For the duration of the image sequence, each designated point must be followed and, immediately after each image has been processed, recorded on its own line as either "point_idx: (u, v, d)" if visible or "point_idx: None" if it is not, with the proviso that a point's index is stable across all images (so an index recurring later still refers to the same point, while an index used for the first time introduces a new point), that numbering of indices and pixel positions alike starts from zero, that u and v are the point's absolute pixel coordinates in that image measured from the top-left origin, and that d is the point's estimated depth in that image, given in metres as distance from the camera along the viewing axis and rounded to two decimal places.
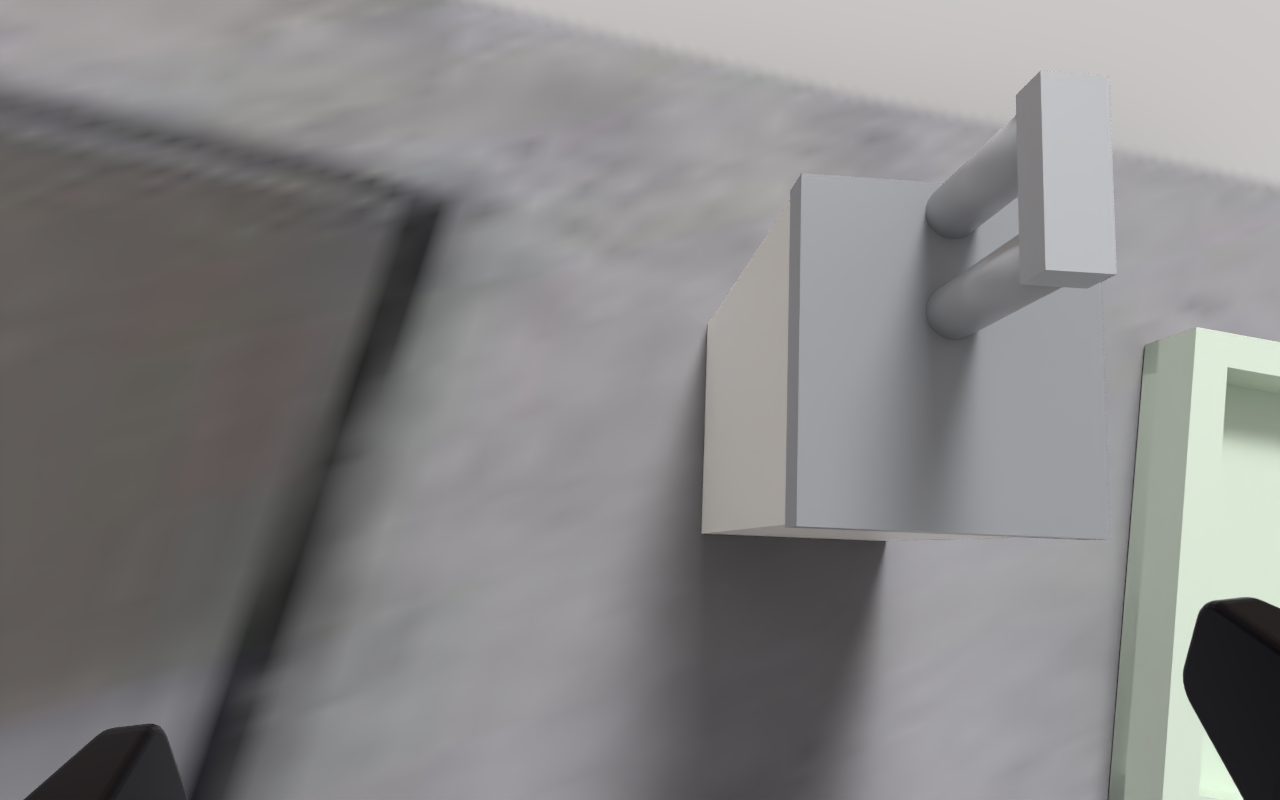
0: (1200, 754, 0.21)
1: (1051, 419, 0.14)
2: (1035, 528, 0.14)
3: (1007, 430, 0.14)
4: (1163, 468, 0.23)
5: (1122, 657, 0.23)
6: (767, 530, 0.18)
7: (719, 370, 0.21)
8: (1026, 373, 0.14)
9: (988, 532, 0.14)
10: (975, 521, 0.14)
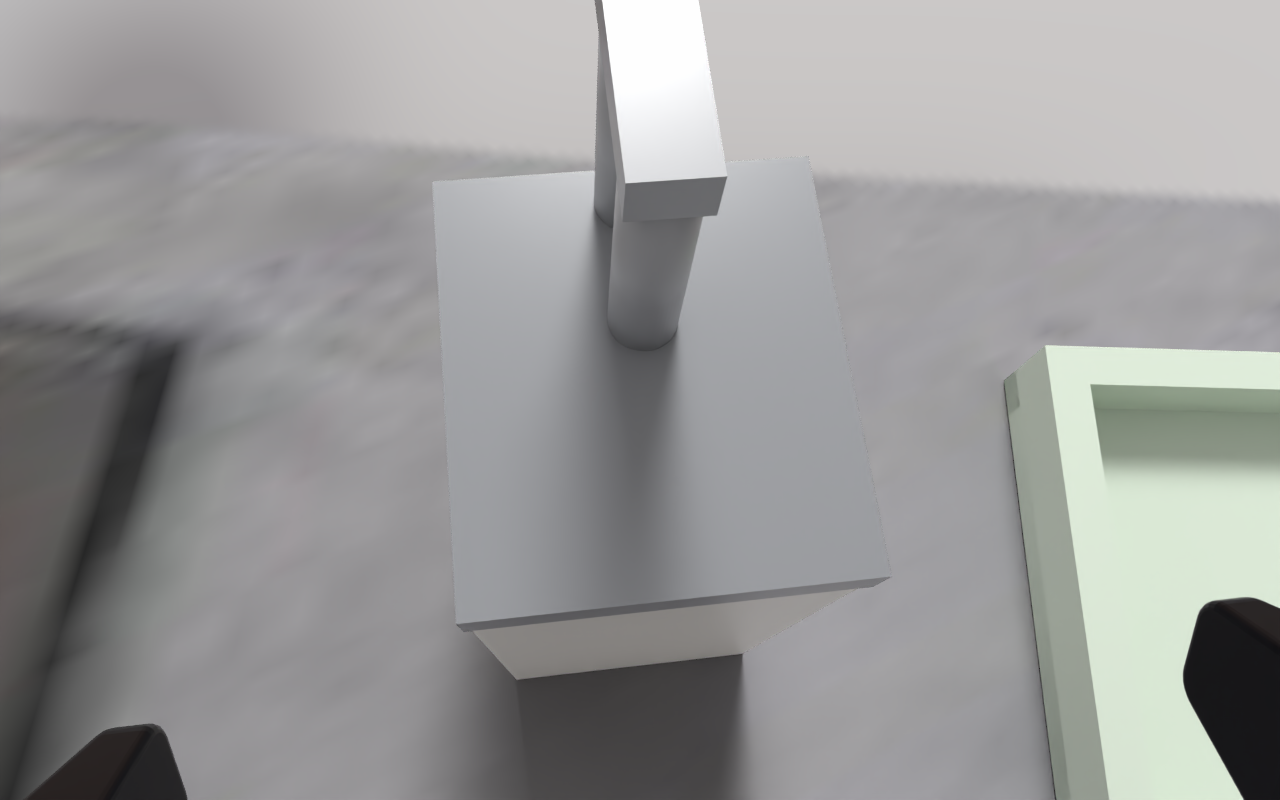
0: None
1: (788, 432, 0.11)
2: (788, 577, 0.10)
3: (732, 454, 0.11)
4: (1046, 514, 0.19)
5: (1053, 753, 0.19)
6: (532, 653, 0.14)
7: None
8: (747, 379, 0.11)
9: (723, 592, 0.10)
10: (703, 580, 0.10)
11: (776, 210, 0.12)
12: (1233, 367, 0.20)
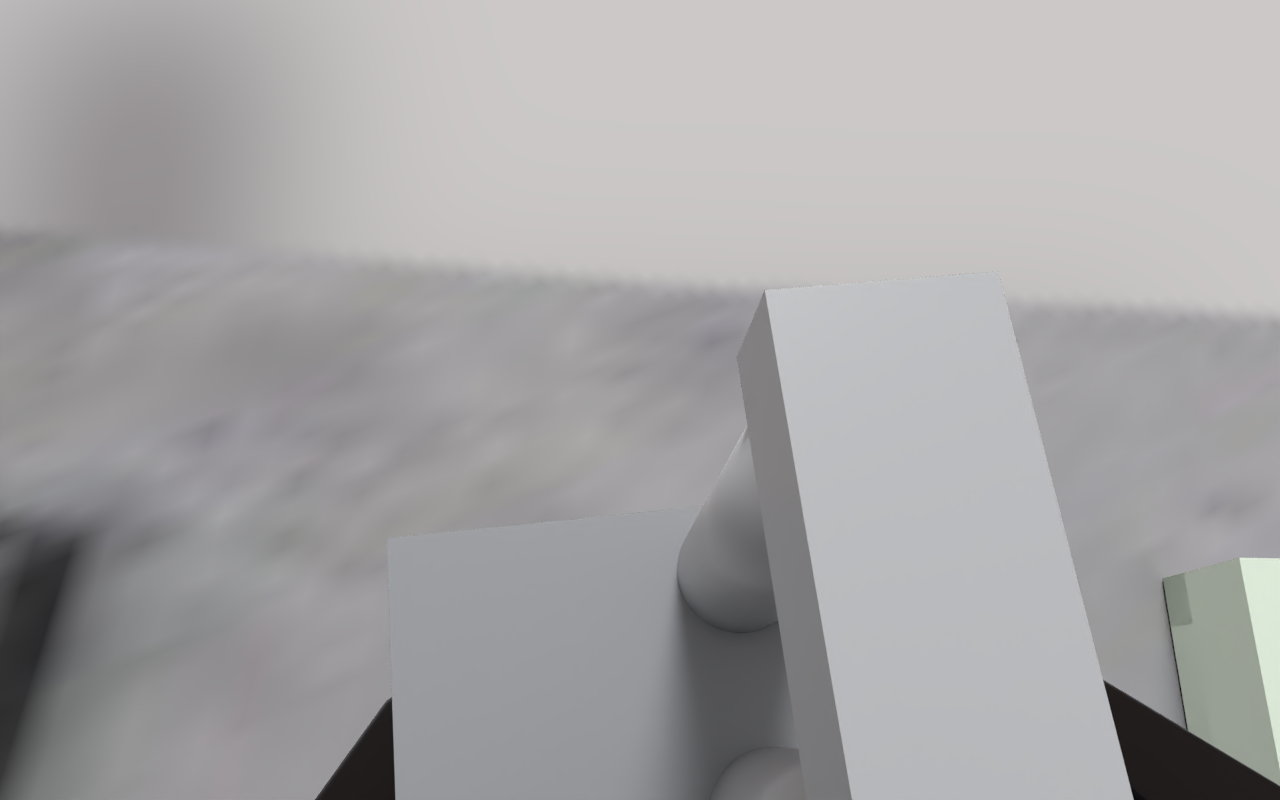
0: None
1: None
2: None
3: None
4: None
5: None
6: None
7: None
8: None
9: None
10: None
11: None
12: None
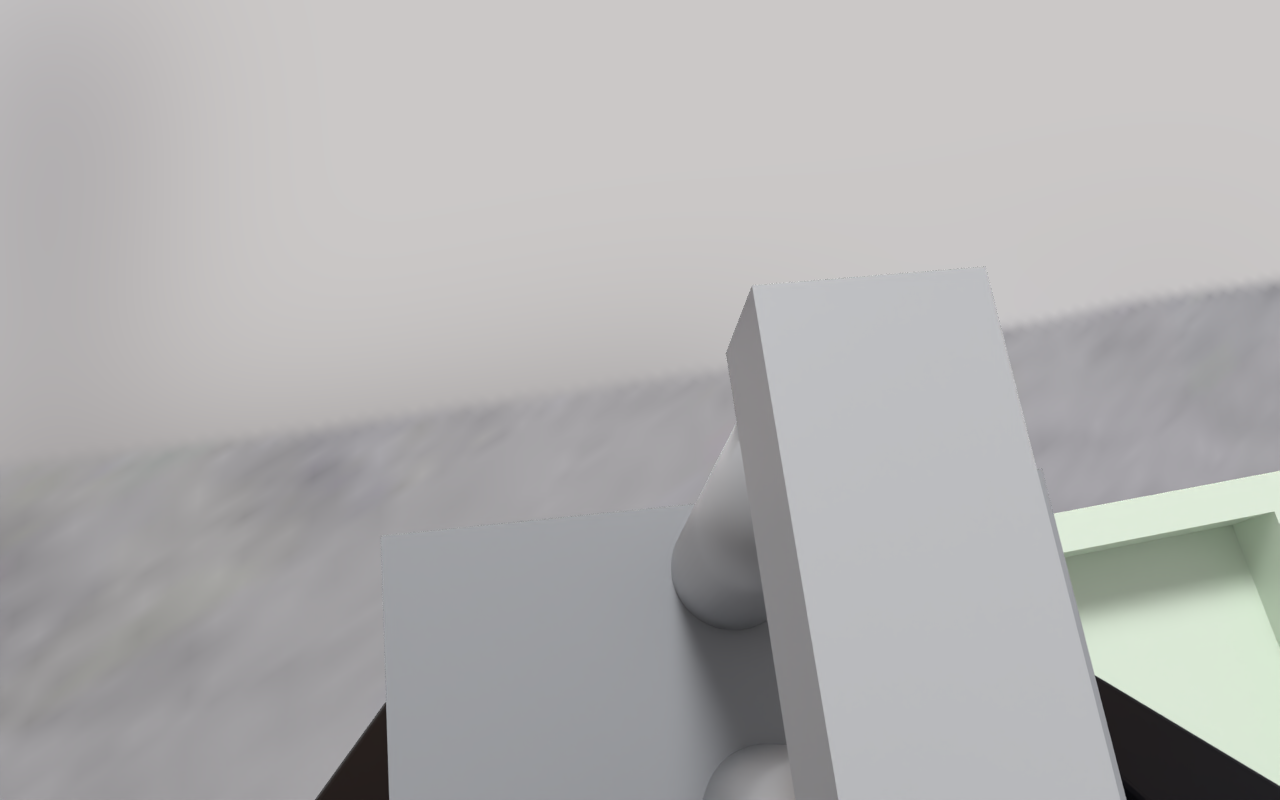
0: None
1: None
2: None
3: None
4: None
5: None
6: None
7: None
8: None
9: None
10: None
11: None
12: None
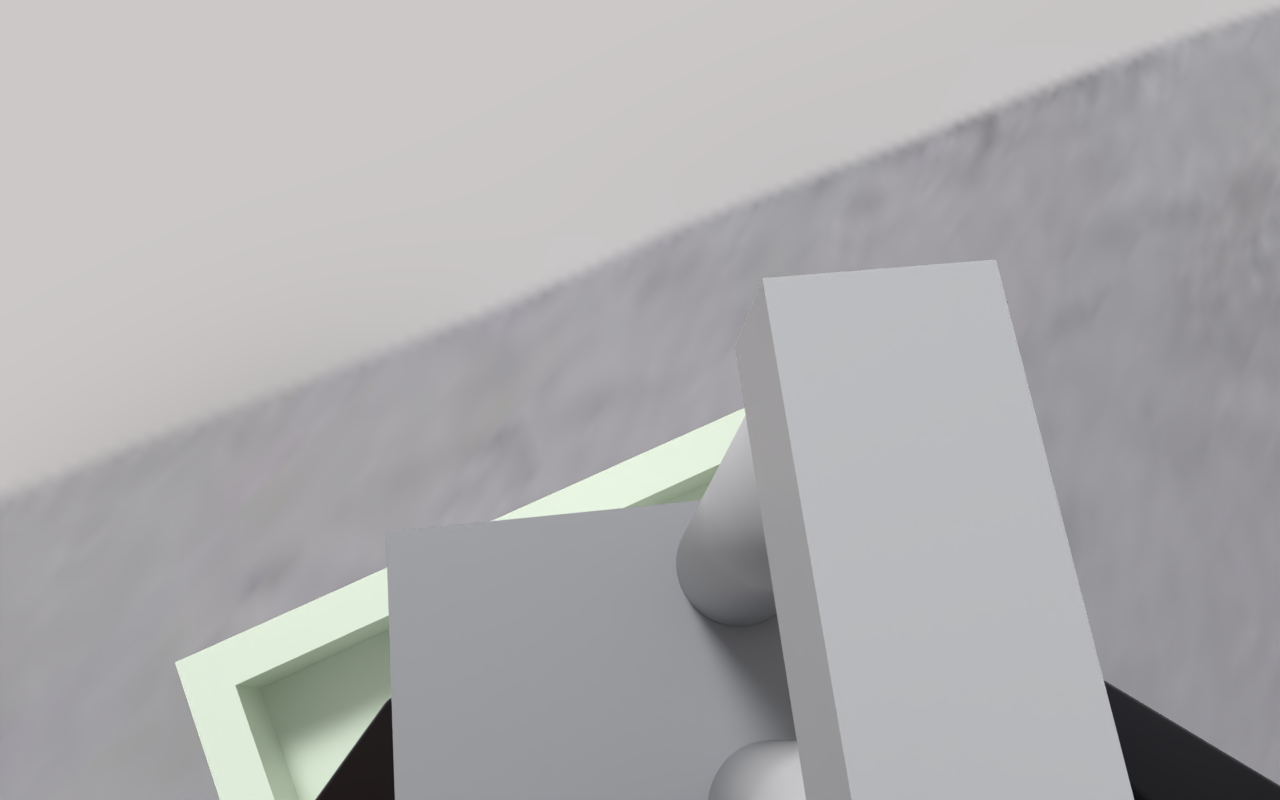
0: None
1: None
2: None
3: None
4: None
5: None
6: None
7: None
8: None
9: None
10: None
11: None
12: None
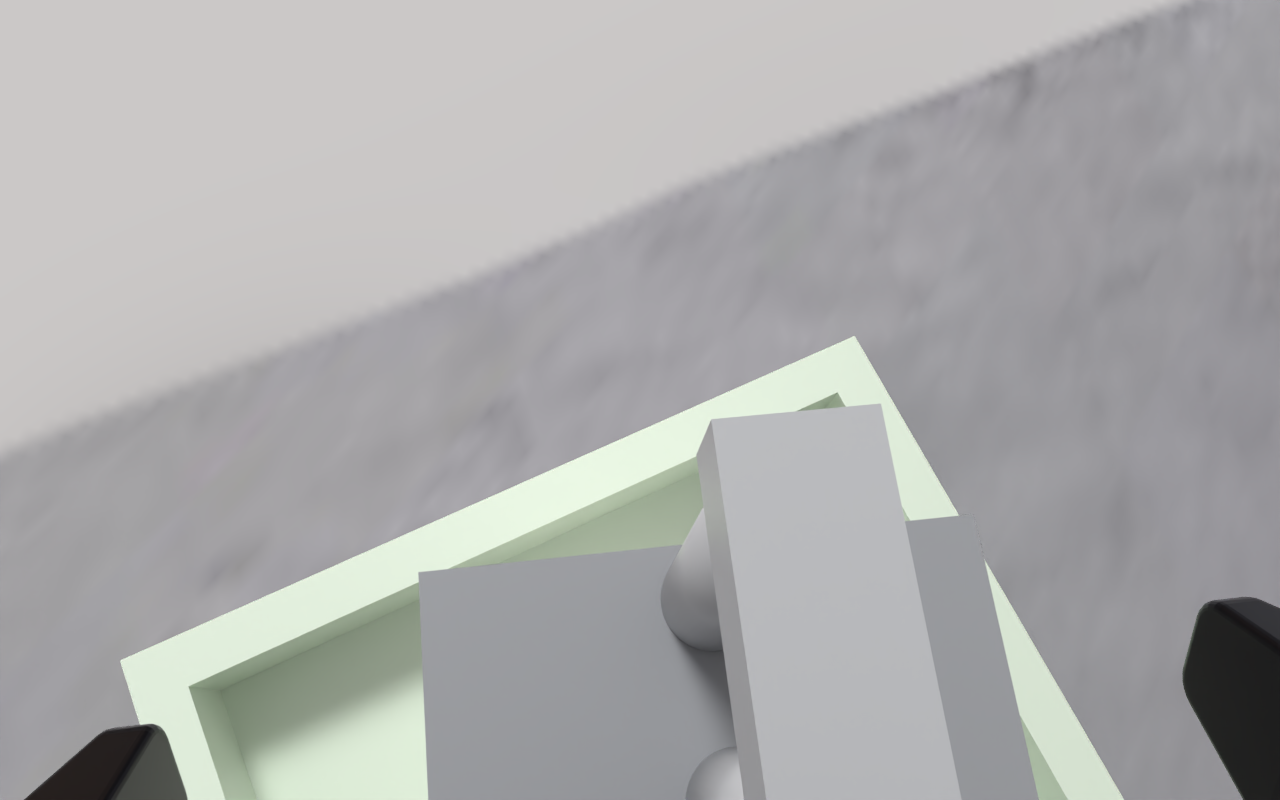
0: None
1: None
2: None
3: None
4: None
5: None
6: None
7: None
8: None
9: None
10: None
11: (931, 607, 0.08)
12: (367, 575, 0.16)
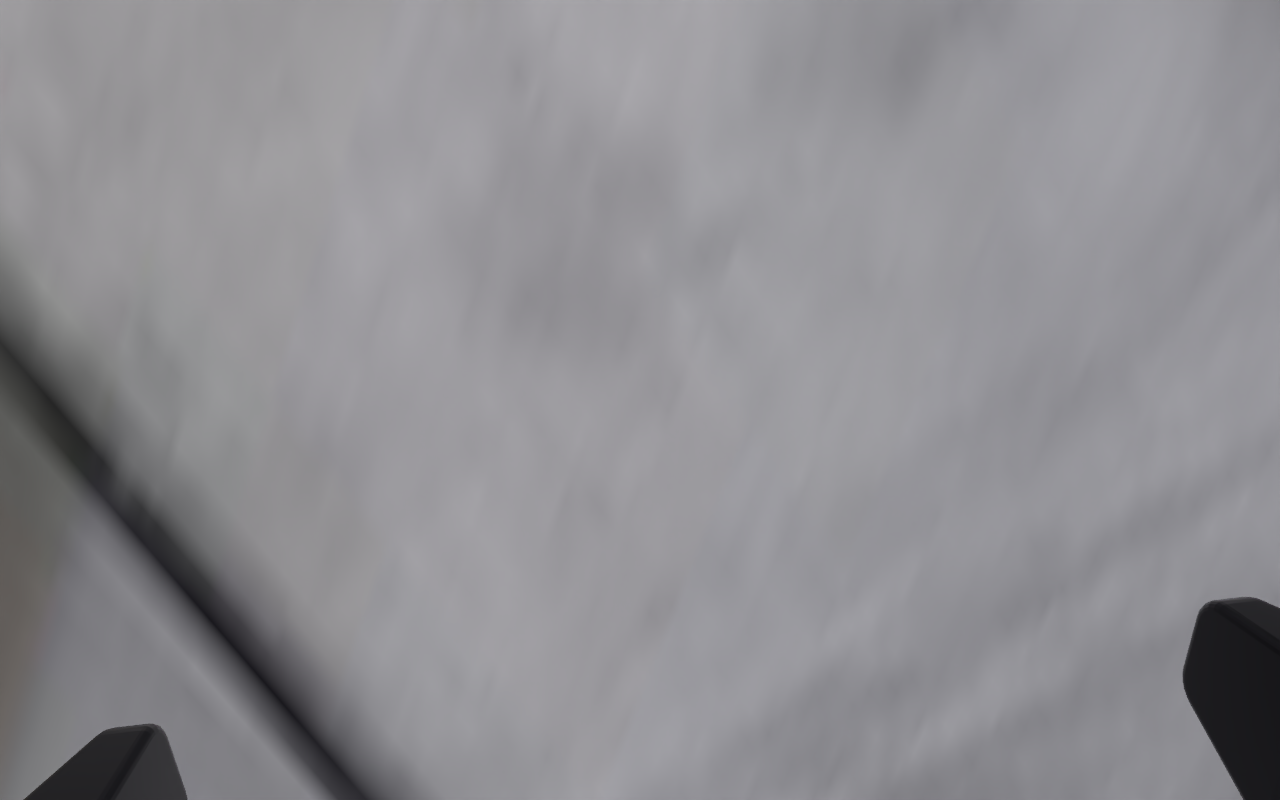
0: None
1: None
2: None
3: None
4: None
5: None
6: None
7: None
8: None
9: None
10: None
11: None
12: None
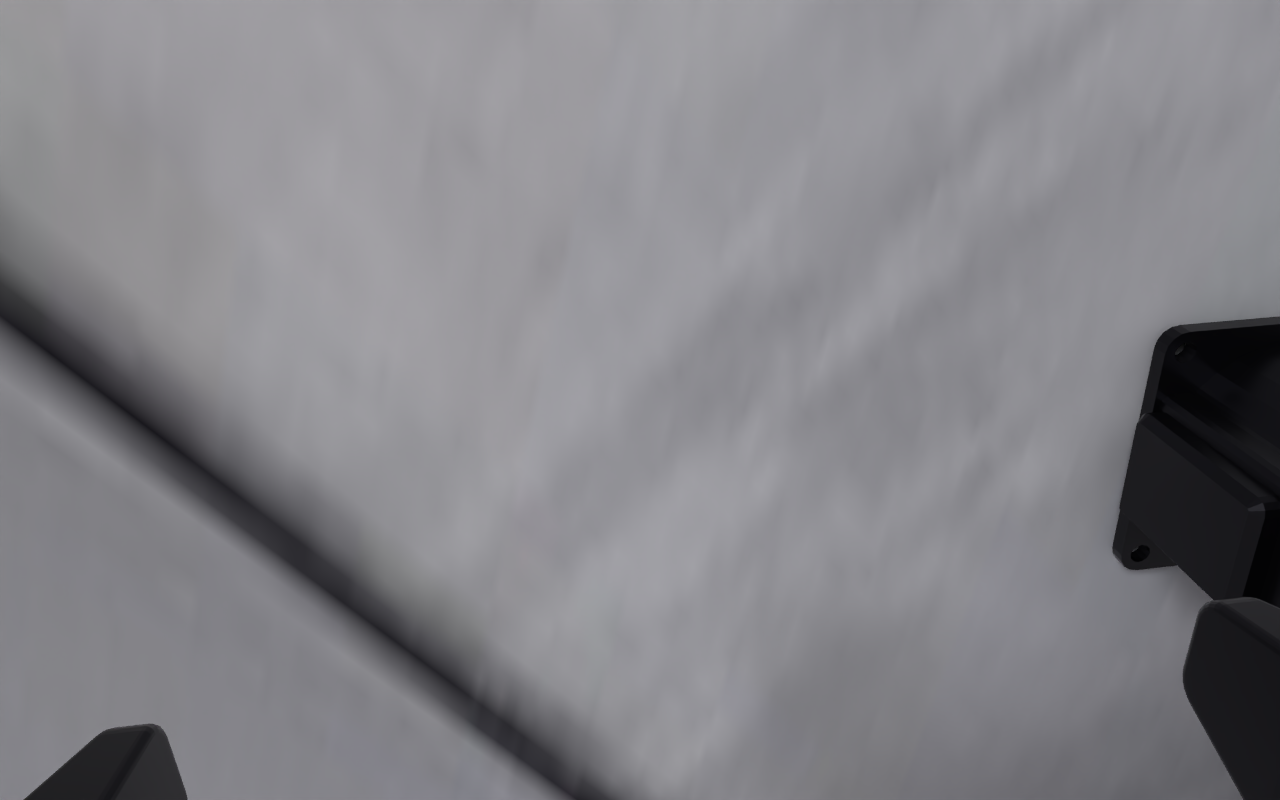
0: None
1: None
2: None
3: None
4: None
5: None
6: None
7: None
8: None
9: None
10: None
11: None
12: None
